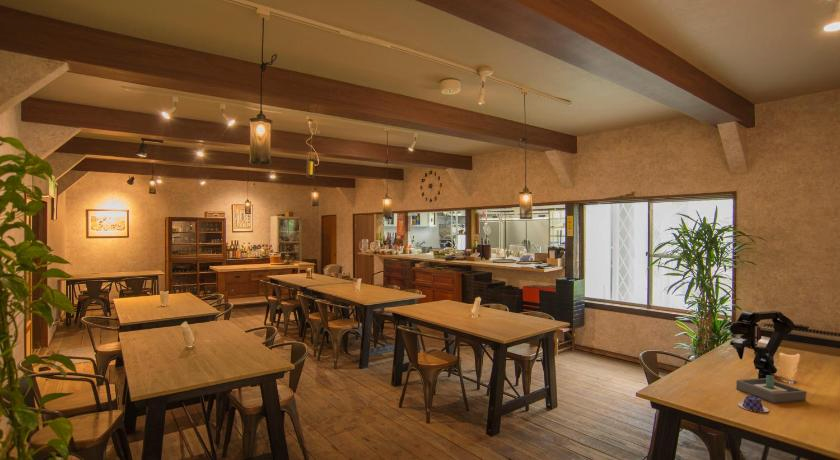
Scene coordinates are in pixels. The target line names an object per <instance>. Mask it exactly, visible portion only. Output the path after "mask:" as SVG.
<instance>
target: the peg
mask: <svg viewBox="0 0 840 460" xmlns="http://www.w3.org/2000/svg"><path fill="white" fill-rule="evenodd" d="M774 381H775V375H773V376H771V375H766V388H768V389H774Z"/></svg>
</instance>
